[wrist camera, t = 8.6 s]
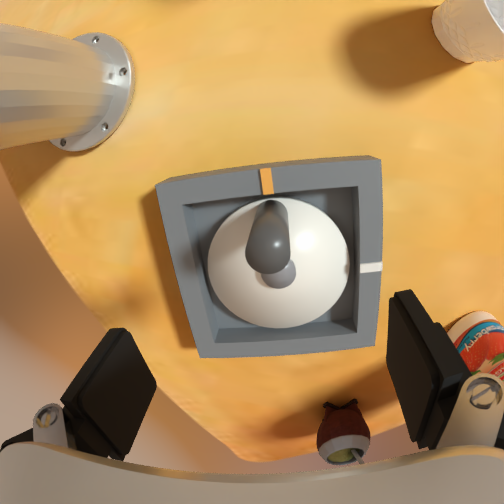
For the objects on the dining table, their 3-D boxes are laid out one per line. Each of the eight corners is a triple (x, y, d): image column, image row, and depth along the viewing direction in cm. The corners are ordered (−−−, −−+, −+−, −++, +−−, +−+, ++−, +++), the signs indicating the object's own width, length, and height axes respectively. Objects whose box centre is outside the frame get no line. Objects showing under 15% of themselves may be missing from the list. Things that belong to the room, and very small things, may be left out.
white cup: (410, 9, 18) (460, -29, 9) (459, -6, 16) (510, -35, 6) (454, 78, 20) (519, 68, 11) (497, 57, 18) (558, 48, 9)
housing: (206, 337, 33) (199, 359, 30) (169, 177, 27) (154, 185, 23) (367, 325, 31) (375, 347, 28) (368, 155, 24) (381, 159, 21)
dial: (346, 314, 29) (365, 380, 21) (223, 324, 31) (205, 390, 22) (344, 189, 24) (375, 221, 16) (198, 205, 26) (160, 243, 18)
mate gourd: (304, 413, 38) (306, 507, 24) (346, 385, 35) (363, 486, 21) (339, 429, 39) (347, 514, 25) (379, 403, 36) (400, 493, 22)
